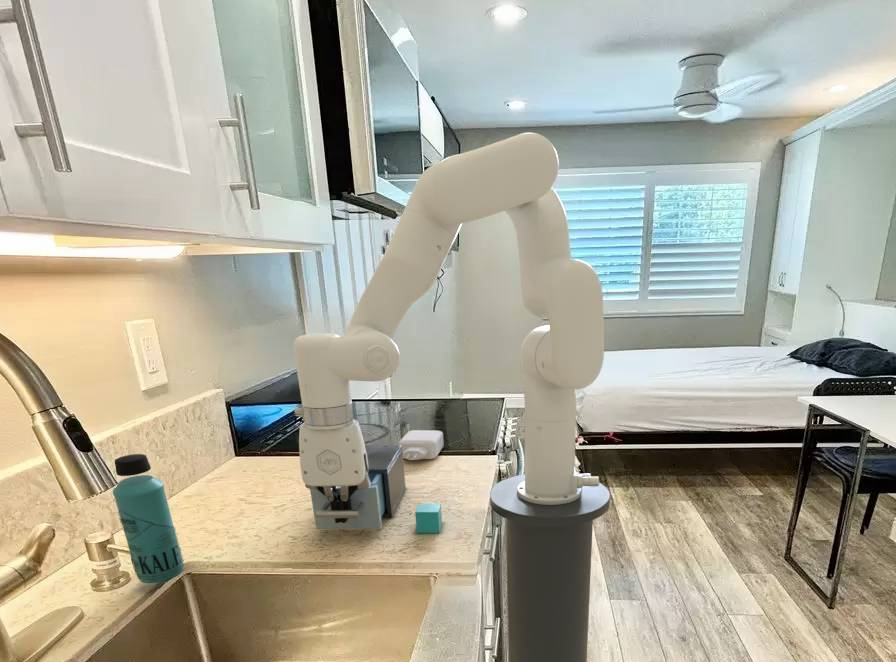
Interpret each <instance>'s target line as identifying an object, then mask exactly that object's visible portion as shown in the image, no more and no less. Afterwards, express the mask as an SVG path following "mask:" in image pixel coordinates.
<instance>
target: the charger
mask: <svg viewBox="0 0 896 662" xmlns="http://www.w3.org/2000/svg"><path fill="white" fill-rule="evenodd" d="M444 441H445V440H444V433H443V431H441V430H436V429H435V430H432V429H431V430H430V429H429V430H426V429H425V430H424V429H413V430H409V431H407V433H406V434H405V435H403V436H402V438H401V439H400V440H399V441H398V442H397V445H402V454H403V460H408V461H420V460H434V459H436V458H437V457H438V456H439V454H440V452H441V451H442V449H443V448H444V444H445V443H444Z"/></svg>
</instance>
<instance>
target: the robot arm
mask: <svg viewBox="0 0 896 662" xmlns="http://www.w3.org/2000/svg"><path fill="white" fill-rule="evenodd" d="M559 167H560V163H559V156H558V153H557V150H556V148H555V146H554V144H553V143H552V142H551V141H550V140H549V139H548V138H546V136H544V135H542V134H540V133H536V132H523V133H520V134H517V135H514V136H510V137H508V138H505V139H502V140H498V141H497V142H494V143H493V142H492V143H491V144H488V145H484V146H482V147H478V148H475V149H472V150H470V151H469V150H468V151H465V152H461V153H458V154H455V155H451V156H448V157H446V158H443V159H442V160H439V161H437V162H436V163H435V164H432V165H430V166H428V167H427V168H426V169H425V170H424V171H423V172H422V173H421V174H420V176H419V178H418V179H417V180H416V183H415V184H414V187H413V189H412V192H411V194H410V196H409V198H408V200H407V202H406V204H405V207H404V209H403V211H402V213H401V216H400V218H399V220H398V223H397V224H396V228H395V230H394V232H393V233H392V234H393V235H392V236H391V239H390V241H389V243H388V245H387V247H386V250H385V251H384V254H383V256H382V257H381V260H380V261H379V263H378V264H377V267H376V268H375V270H374V272H373V275H372V276H371V278H370V280H369V281H368V284H367V286H366V287H365V289H364V291H363V293H362V294H361V297H359V301H358V303H357V304H356V307H355V308H354V311H353V313H352V316H351V318H350V320H349V323H348V324H347V326H346V329H345V332H344V334H343V336H340V335H339V334H336V333H331V332H320V333H318V332H316V333H307V334H303V335H299V336H297V337H296V338H295V339H294V341H293V354H294V361H295V367H296V373H297V379H298V386H299V392H300V399H301V405H300V406H299V407H295V408H294V416H295V417H300V418H302V422H303V423H301V424H300V425H299V434H298V435H299V436H298V444H299V445H298V450H299V451H298V452H299V467H300V474H301V475H300V476H301V479H302V482H303V483H304V486H305V488H306V489H309V490H310V489H313V490H318V491H320V492H321V493H322V494H323V495H324V496H326V498H327V500H328V501H330V505H331V510H352V508H351V500H350V496H351V495H352V494H353V493H354V492H355V491H356V490H361V489H365V488H368V487H369V486H370V484H371V482H370V479H369V476H368V472H369V467H368V459H367V453H366V448H365V446H366V444H365V439H364V436H363V433H362V430H361V429H362V428H361V426H360V424H359V421H358V420H357V419H354V411H353V410H354V409H353V401H352V395H351V385H350V381H352V382H353V381H354V382H355V381H356V382H357V381H358V382H381V381H384V380H387V379H389V378H390V377H392V376H393V375H395V373H396V372H397V370H398V369H399V366H400V361H401V359H400V358H401V355H400V351H399V348H398V345H397V343H395V341H394V340H393V338H394V335H395V333H396V331H397V329H398V327H399V325H400V323H401V321H402V320H403V318H404V316H405V315H406V313H407V312H408V311H409V309H410V308H411V307H412V306H413V304H415V303H416V302H417V301H418V300H419V299H421V298H422V297H423V296H425V294H426V293H428V291H430V289H431V288H432V287H433V286H434V284H435V282H436V281H437V279H438V277H439V274H440V272H441V270H442V268H443V265H444V263H445V261H446V259H447V257H448V254H449V253H450V251H451V249H452V246H453V244H454V242H455V240H456V238H457V235H458V234H459V231H460V229H461V227H462V225H463V224H467V223H471V222H474V221H477V220H481V219H484V218H487V217H491V216H494V215H496V214H499V213H503V212H505V213H506V214H507V215H508V217H509V218H510V220H511V223H512V224H513V226H514V230H515V233H516V239H517V246H518V257H519V270H520V271H519V272H520V285H521V287H520V288H521V297H522V302H523V305H524V307H525V309H526V310H527V311H528V313H530V314H531V315H533V316H534V317H538V318H541V319H545V320H548V323H549V324H548V325H541V326H537V327H536V328H534V329H532V330H531V331H530V332H529V333H527V335H526V336H525V337H524V339H523V340H522V344H521V347H520V351H519V364H520V371H521V378H522V385H523V396H524V397H523V398H524V474H525V481H523V482H522V483H520V484H519V485H518V487H517V494H518V496H519V497H520V498H521V499H523V500H525V501H527V502H530V503H534V504H540V505H560V504H566V503H570V502H573V501H575V500H577V499H578V498H579V497H580V496H581V495H582V486H599V483H600V478H599V476H598V475H597V476H596V475H595V476H592V474H591V473H587V472H586V473H579V471H578V472H577V470H576V467H575V458H576V457H575V456H576V427H577V396H576V395H577V394H576V390H581V389H585V388H587V387H589V386H591V385H592V384H593V383H594V382H595V381H596V380H597V378H598V377H599V375H600V374H601V371H602V367H603V364H604V357H605V329H604V327H605V324H604V323H605V322H604V321H605V319H604V318H605V317H604V296H603V295H604V293H603V288H602V284H601V280H600V278H599V275H598V274H597V272H596V271H595V269H594V268H593V266H591V265H590V264H589V263H588V262H585V261H584V260H580V259H579V258H578V259H577V258H572V251H571V241H570V233H569V232H570V231H569V223H568V217H567V212H566V210H565V207H564V204H563V202H562V200H561V199H560V196H559V195H558V193H557V192H556V190H555V189H554V187H553V186H554V185H555V183H556V180H557V179H558V175H559V170H560V169H559ZM337 486H341V495H339V493H338V489H337ZM347 520H348V518H335V522H336V523H340V522H342V523H346V521H347Z"/></svg>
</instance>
